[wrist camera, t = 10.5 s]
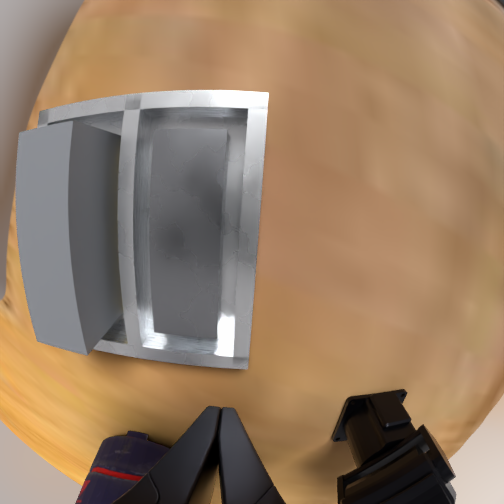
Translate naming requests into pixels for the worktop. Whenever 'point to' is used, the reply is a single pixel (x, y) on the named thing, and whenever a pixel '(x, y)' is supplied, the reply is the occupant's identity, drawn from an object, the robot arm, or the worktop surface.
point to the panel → (69, 232)
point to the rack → (183, 220)
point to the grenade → (119, 467)
